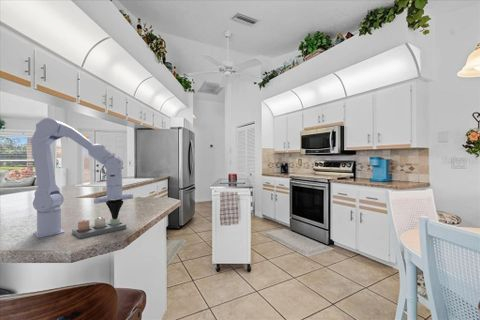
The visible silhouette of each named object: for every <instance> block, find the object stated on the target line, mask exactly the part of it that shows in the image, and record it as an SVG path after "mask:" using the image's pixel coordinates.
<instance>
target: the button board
mask: <svg viewBox="0 0 480 320" xmlns="http://www.w3.org/2000/svg"><path fill="white" fill-rule="evenodd" d="M89 226H90V230H88V231H83V232H78V227H77V228H73V229H71V233H72V234H73V236H75V237H76V238H78V239H85V238H90V237H94V236H99V235H103V234H108V233H111V232H115V231H120V230H125V229H127V224H126V223H123V222H121V221H120V224H118V225H114V226H110V221H108V222H105V227H103V228H95V224H93V225H89Z"/></svg>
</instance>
